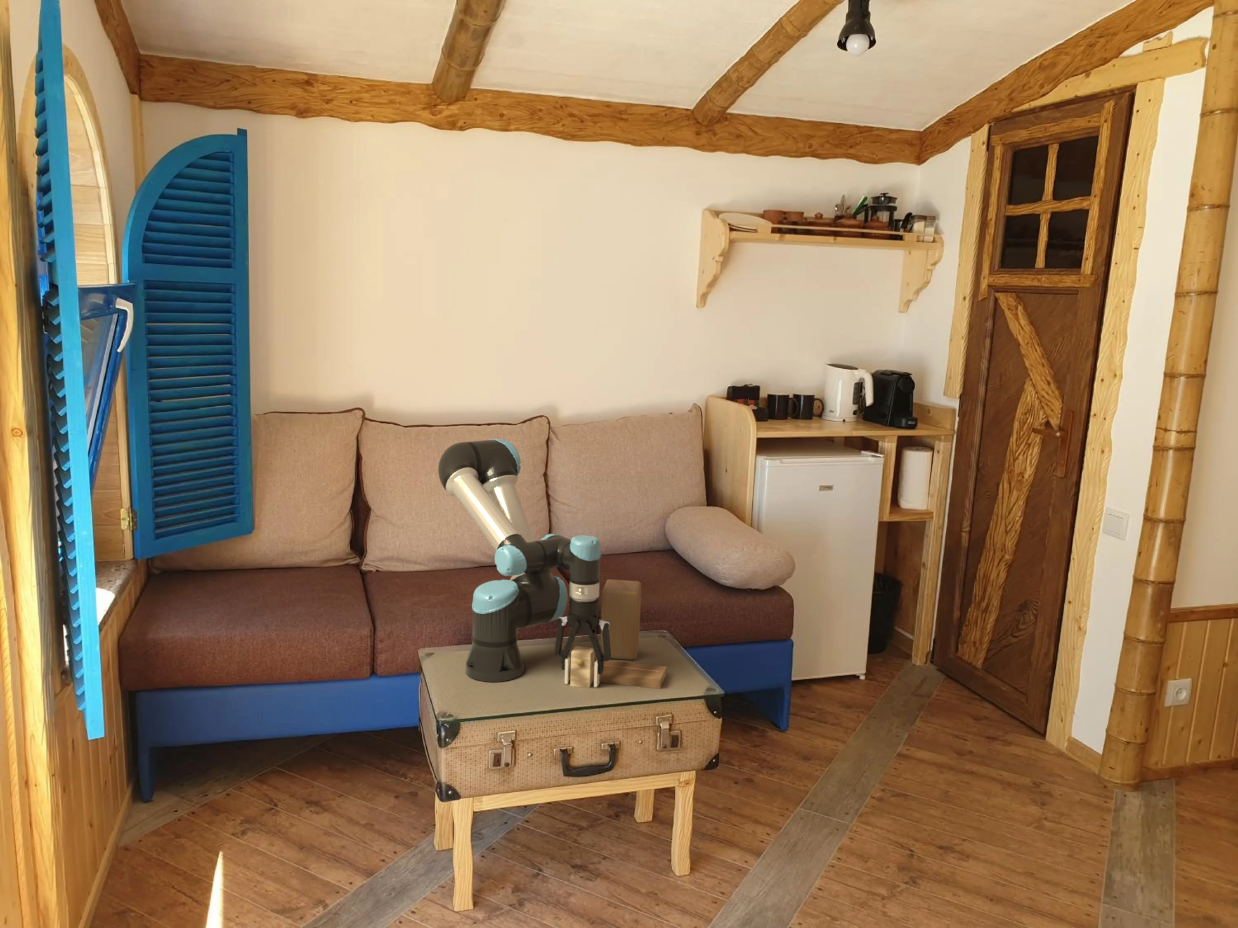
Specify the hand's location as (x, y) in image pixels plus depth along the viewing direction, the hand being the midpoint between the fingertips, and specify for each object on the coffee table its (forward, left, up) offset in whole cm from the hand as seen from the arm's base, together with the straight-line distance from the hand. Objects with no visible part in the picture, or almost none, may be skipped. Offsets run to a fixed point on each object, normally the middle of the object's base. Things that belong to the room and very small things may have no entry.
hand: (581, 683), depth 252 cm
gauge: (0, +5, 0) cm, 5 cm away
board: (+8, +7, 0) cm, 11 cm away
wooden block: (+5, +24, 0) cm, 24 cm away
